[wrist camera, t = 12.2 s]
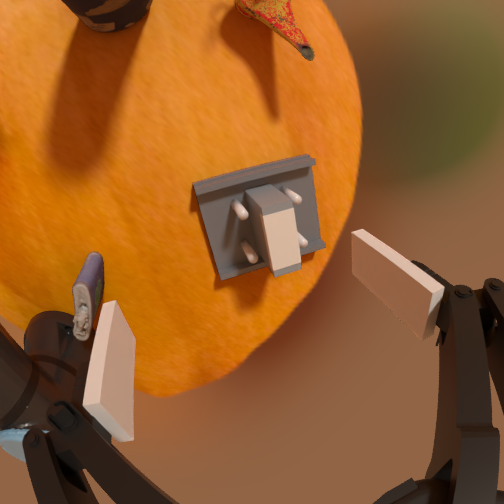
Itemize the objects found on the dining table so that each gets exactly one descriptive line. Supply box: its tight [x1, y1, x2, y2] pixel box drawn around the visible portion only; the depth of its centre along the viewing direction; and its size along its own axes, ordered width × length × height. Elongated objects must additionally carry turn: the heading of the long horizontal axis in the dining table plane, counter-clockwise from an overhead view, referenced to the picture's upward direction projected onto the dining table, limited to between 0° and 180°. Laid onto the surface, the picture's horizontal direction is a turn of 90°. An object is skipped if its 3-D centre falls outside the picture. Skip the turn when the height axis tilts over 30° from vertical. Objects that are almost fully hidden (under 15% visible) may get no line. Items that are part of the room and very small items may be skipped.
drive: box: [245, 184, 302, 277], centre depth 38 cm, size 4×9×8 cm, turn 13°
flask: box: [72, 252, 104, 341], centre depth 35 cm, size 9×3×11 cm, turn 163°
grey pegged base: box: [193, 154, 326, 281], centre depth 40 cm, size 16×14×6 cm
